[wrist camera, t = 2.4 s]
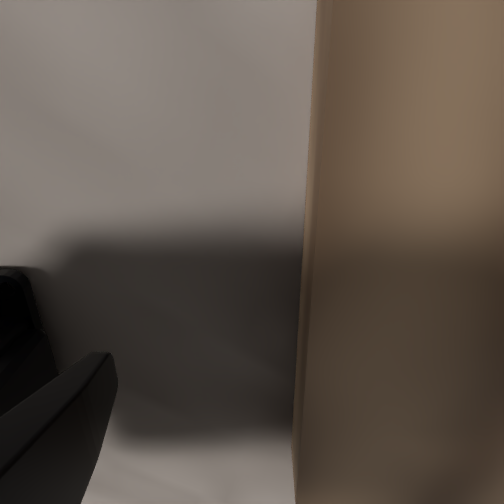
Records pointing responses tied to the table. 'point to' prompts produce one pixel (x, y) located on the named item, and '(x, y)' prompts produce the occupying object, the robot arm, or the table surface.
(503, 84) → the board
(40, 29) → the table surface
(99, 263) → the table surface
